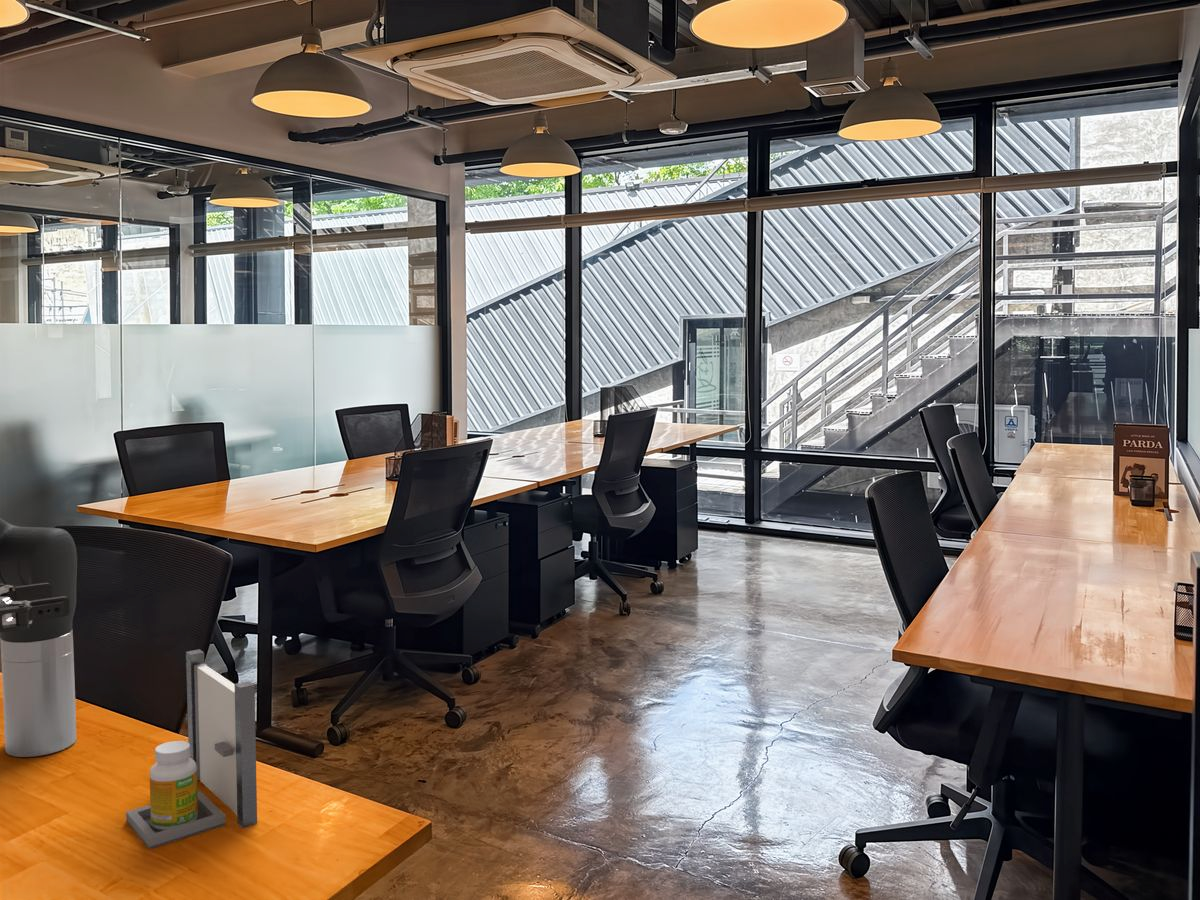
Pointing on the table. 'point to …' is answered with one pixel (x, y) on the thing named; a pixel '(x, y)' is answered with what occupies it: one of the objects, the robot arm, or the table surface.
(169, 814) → the supplement bottle
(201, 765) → the door
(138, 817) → the shallow tray
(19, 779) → the table surface
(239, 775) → the door frame
